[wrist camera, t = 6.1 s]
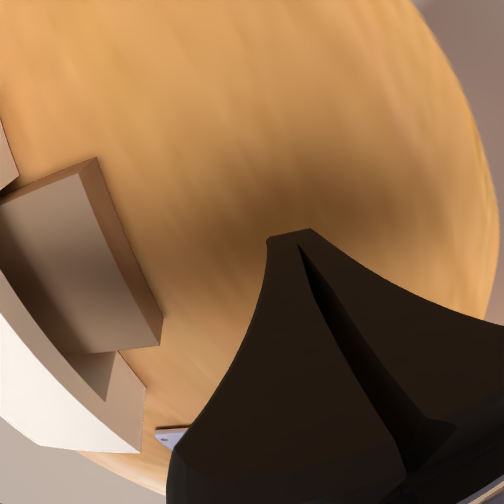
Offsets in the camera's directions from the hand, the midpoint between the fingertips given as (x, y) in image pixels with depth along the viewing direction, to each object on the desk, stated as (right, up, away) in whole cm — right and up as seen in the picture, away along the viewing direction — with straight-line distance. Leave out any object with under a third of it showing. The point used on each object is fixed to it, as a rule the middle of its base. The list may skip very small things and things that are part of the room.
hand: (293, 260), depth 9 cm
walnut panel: (-10, 0, +2) cm, 10 cm away
